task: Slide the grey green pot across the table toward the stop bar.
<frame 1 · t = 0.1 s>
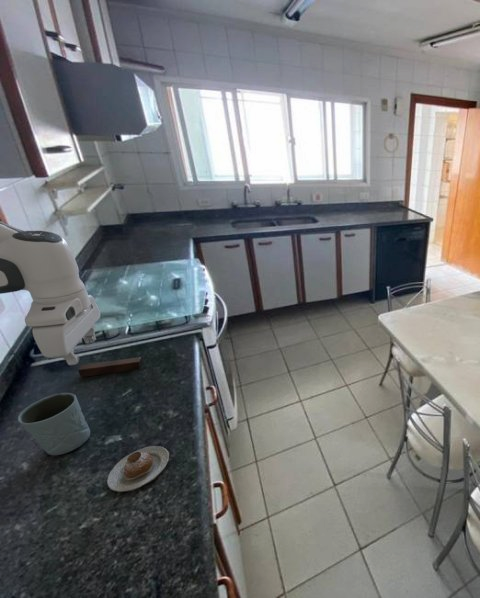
hand: (83, 352, 81), 23 cm above the table, tool pointing down, fingers open, 8 cm apart
grey green pot: (68, 442, 85), on the table
pastry: (141, 470, 79), on the table
stop bar: (113, 370, 111), on the table
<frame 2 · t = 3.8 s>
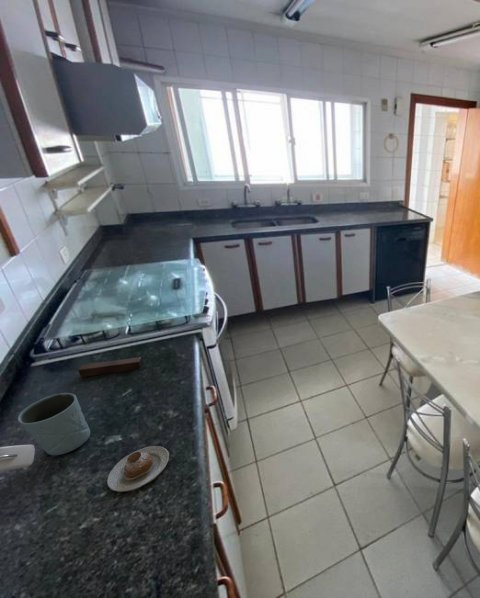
nothing on the table moved.
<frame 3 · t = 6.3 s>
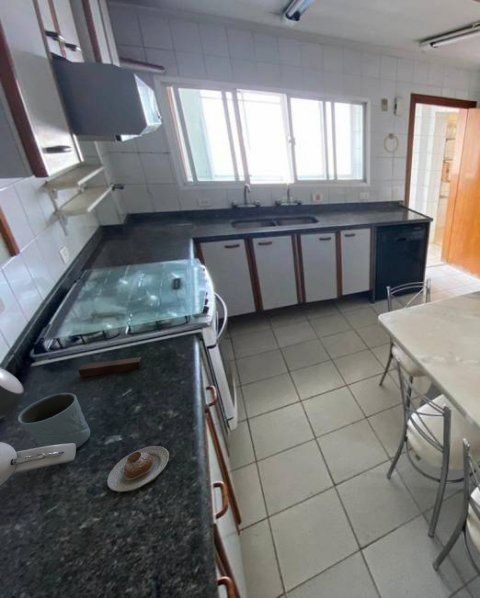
hand: (30, 461, 72), 7 cm above the table, tool tilted 45°, fingers closed
nothing on the table moved.
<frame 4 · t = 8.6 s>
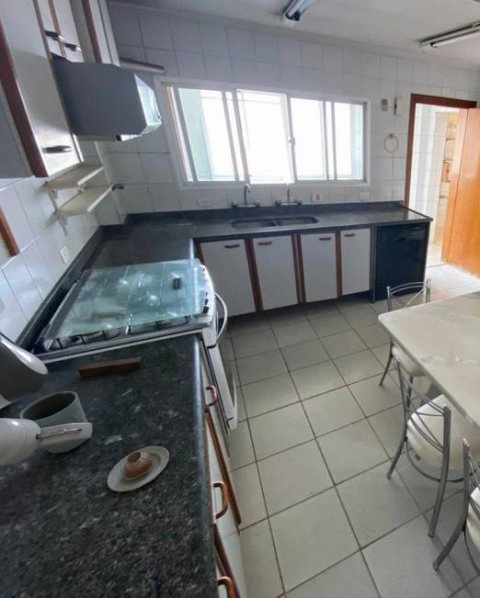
hand: (51, 440, 78), 6 cm above the table, tool tilted 45°, fingers closed
grey green pot: (69, 440, 85), on the table, touching gripper
everything else where it was.
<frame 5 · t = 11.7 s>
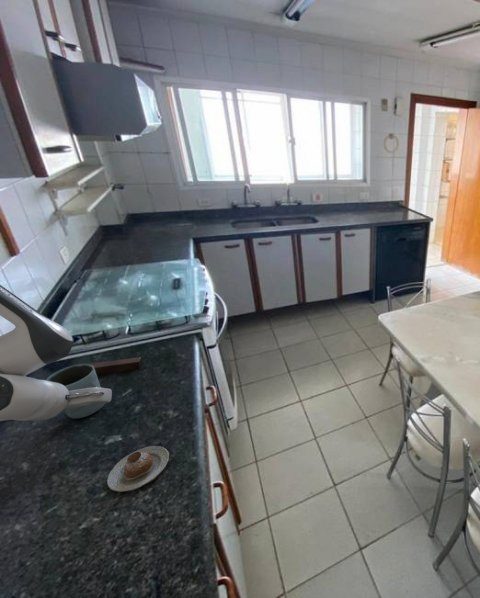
hand: (75, 404, 89), 6 cm above the table, tool tilted 45°, fingers closed
grey green pot: (87, 408, 95), on the table, touching gripper
everything else where it was.
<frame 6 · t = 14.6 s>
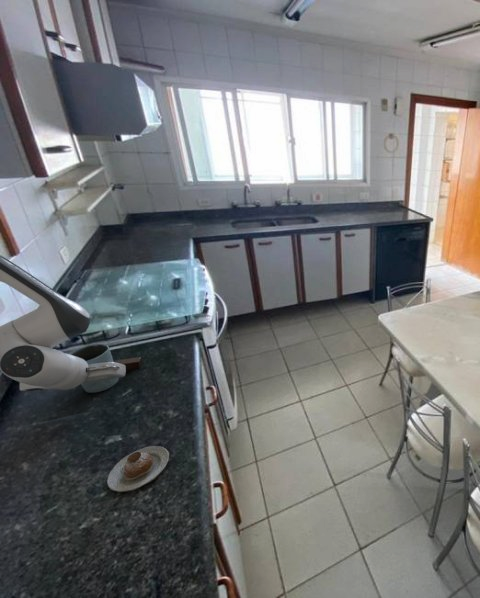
hand: (92, 379, 98), 6 cm above the table, tool tilted 45°, fingers closed
grey green pot: (102, 384, 104), on the table, touching gripper
everything else where it was.
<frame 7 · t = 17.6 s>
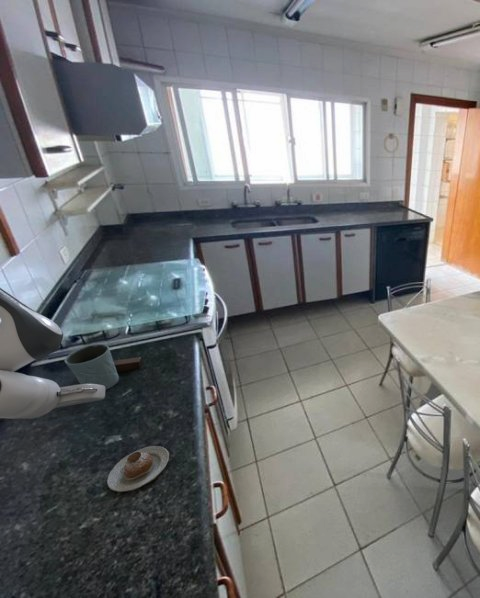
hand: (67, 402, 86), 8 cm above the table, tool tilted 45°, fingers closed
grey green pot: (102, 384, 104), on the table
everything else where it was.
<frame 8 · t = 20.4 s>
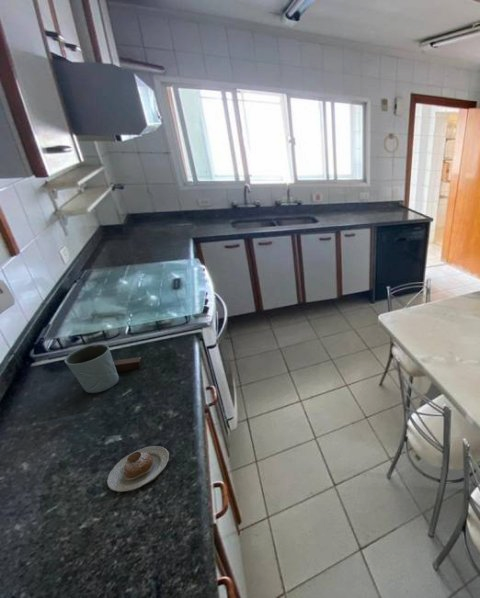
nothing on the table moved.
at the end: grey green pot inside the target area on the table beside the stop bar (0.6 cm from its centre), on the table; grey green pot tilted 3°; grey green pot moved 23.9 cm from its start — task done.
